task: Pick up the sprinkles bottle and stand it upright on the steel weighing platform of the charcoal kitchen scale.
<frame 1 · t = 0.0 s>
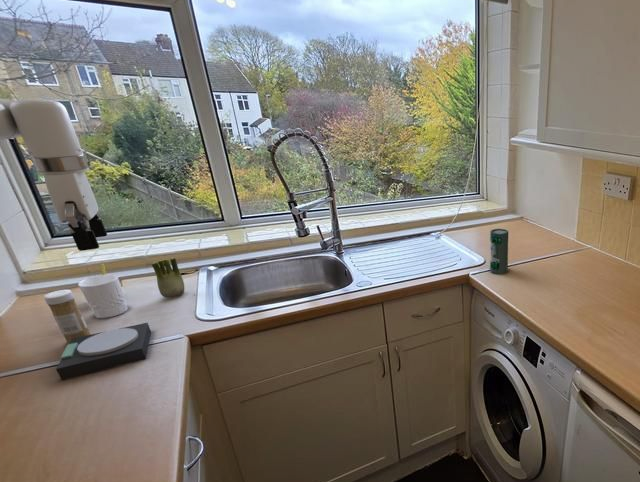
hand: (94, 242, 90), 26 cm above the worktop, tool pointing down, fingers open, 9 cm apart
white cup: (112, 313, 114), on the worktop
can: (498, 271, 148), on the worktop
cupcake: (108, 300, 121), on the worktop
sprinkles bottle: (80, 342, 101), on the worktop
scale: (110, 354, 96), on the worktop
fennel bulb: (175, 296, 124), on the worktop
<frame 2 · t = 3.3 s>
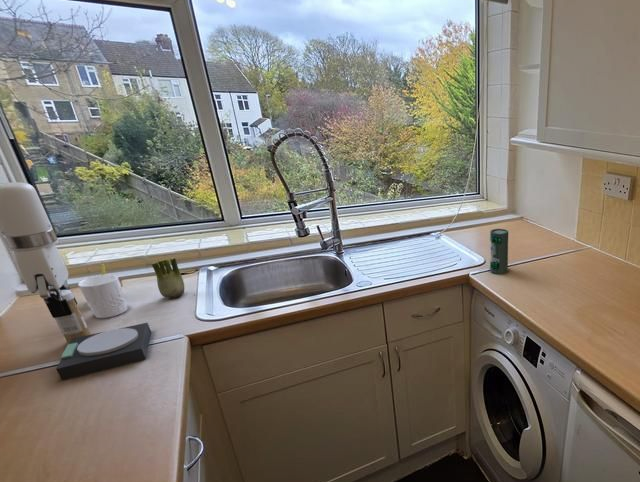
hand: (65, 310, 97), 9 cm above the worktop, tool pointing down, fingers closed on sprinkles bottle, 4 cm apart
sprinkles bottle: (80, 342, 101), on the worktop, touching gripper
everything else where it was.
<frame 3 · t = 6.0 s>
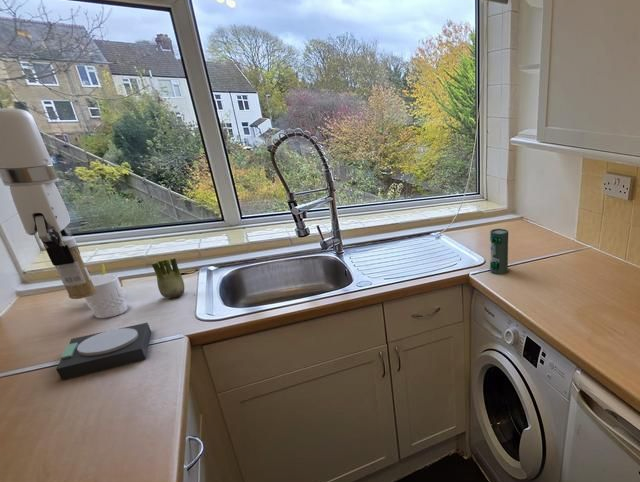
hand: (67, 259, 88), 24 cm above the worktop, tool pointing down, fingers closed on sprinkles bottle, 4 cm apart
sprinkles bottle: (83, 296, 91), point 15 cm above the worktop, touching gripper
everything else where it was.
when the fingers open (13 cm above the worktop, at t = 9.0 s): sprinkles bottle stays where it is, resting on scale.
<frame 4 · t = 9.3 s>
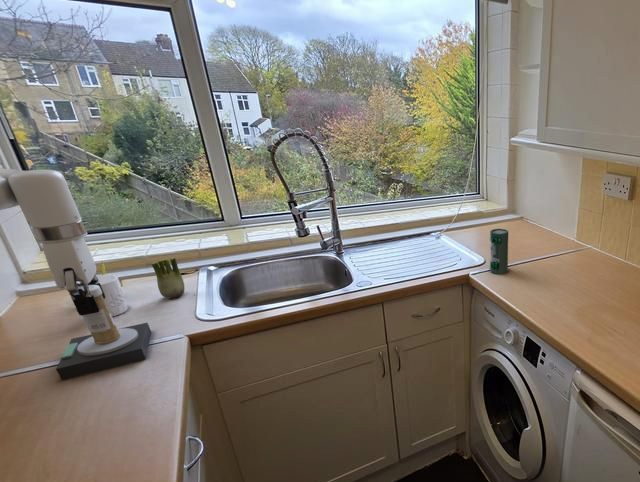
hand: (93, 306, 91), 13 cm above the worktop, tool pointing down, fingers open, 6 cm apart
sprinkles bottle: (108, 340, 95), point 4 cm above the worktop, touching scale
everything else where it was.
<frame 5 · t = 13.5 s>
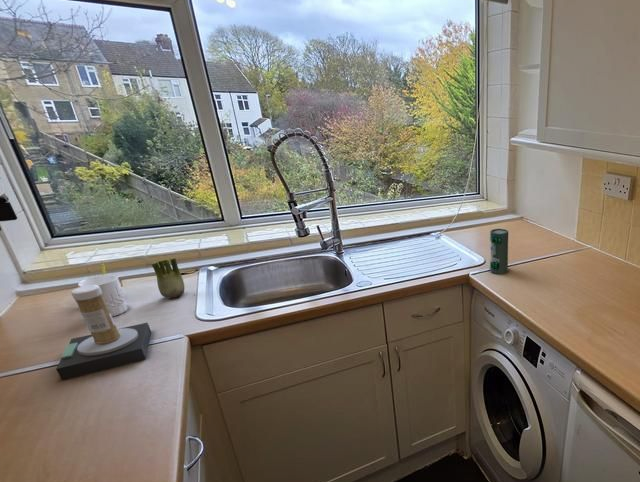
nothing on the worktop moved.
at the end: sprinkles bottle inside the target area on the scale (0.0 cm from its centre), point 3.6 cm above the scale's base; sprinkles bottle tilted 0°; the gripper is holding nothing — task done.
